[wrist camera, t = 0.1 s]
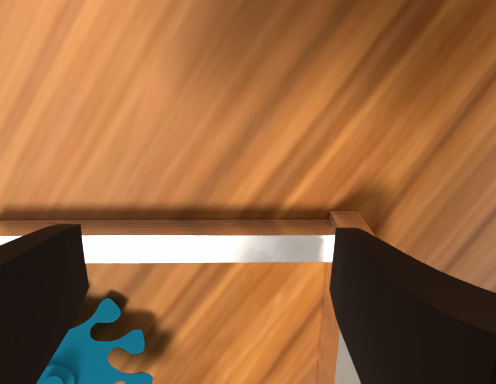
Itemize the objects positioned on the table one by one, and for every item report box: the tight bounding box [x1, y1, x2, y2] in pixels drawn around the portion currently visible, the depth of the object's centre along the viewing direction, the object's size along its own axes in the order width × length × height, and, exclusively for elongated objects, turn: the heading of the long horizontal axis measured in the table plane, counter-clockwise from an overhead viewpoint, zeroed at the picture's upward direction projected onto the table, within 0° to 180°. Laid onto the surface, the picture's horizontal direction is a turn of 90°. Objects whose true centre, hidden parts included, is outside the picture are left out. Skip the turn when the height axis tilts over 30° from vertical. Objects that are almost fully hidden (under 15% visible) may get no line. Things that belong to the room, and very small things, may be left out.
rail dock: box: [0, 211, 376, 384], centre depth 23 cm, size 16×20×4 cm
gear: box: [36, 298, 153, 384], centre depth 23 cm, size 11×6×10 cm
